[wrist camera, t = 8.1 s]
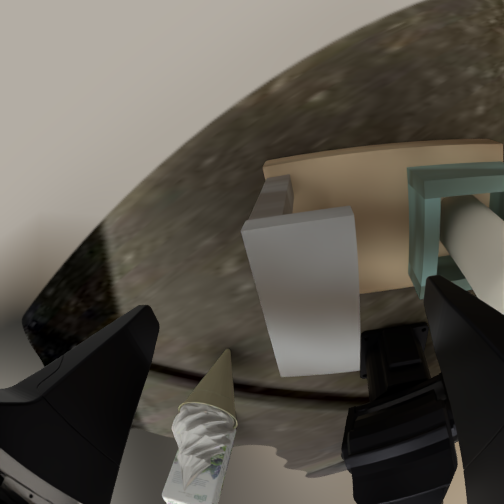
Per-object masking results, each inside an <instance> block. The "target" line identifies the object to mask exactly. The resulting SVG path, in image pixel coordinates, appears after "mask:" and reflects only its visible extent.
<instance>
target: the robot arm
mask: <svg viewBox="0 0 504 504" xmlns="http://www.w3.org/2000/svg"><path fill="white" fill-rule="evenodd" d="M424 307H425V311H426V315H427V319H428V323H429V327H430V332H431V336H432V341H433V345H434V349H435V353H436V356H437V359H438V362H439V365H440V369H441V373H439V375H437V376H435V377H433V378H431V376H430V372H429V369H428V365H427V362H426V359H425V356H424V349H425V345H426V340H427V335H428V330H429V327H428V325H427V323H420V324H414V325H409V326H403V327H396V328H390V329H383V330H376V331H369V332H364V333H362V335H361V354H360V377H361V378H363V379H365V378H367V380H368V389H369V398H370V402H369V403H366V404H363V405H360V406H357V407H356V406H354V407H351V408H349V411H348V416H347V420H346V426H345V432H344V437H343V443H342V453H341V457H342V459H343V460H344V461H345V464H346V467H347V469H348V471H349V472H350V473H351V474H352V479H353V497H354V500H355V501H356V503H357V504H443V499H444V497H445V495H446V493H447V490H448V488H449V486H450V484H451V481H452V479H453V476H454V474H455V471H456V469H457V465H458V464H457V454H456V449H455V444H454V443H456V442H458V441H459V446H460V451H461V457H462V462H463V469H465V470H464V478H465V486H466V496H467V504H504V315H503V314H502V313H500V312H499V311H497V310H496V309H494V308H493V307H491V306H490V305H488V304H487V303H485V302H483V301H482V300H480V299H479V298H477V297H476V296H474V295H472V294H471V293H469V292H468V291H466V290H464V289H463V288H461V287H459V286H458V285H456V284H454V283H453V282H451V281H449V280H448V279H446V278H444V277H443V276H441V275H432V276H428V277H427V279H426V284H425V293H424ZM158 333H159V322H158V320H157V318H156V316H155V314H154V312H153V310H152V308H151V307H150V306H149V305H139V306H137V307H135V308H134V309H132V310H131V311H129V312H127V313H126V314H124V315H123V316H121V317H120V318H118V319H117V320H115V321H114V322H112V323H111V324H109V325H108V326H106V327H105V328H103V329H102V330H100V331H99V332H97V333H96V334H94V335H93V336H91V337H90V338H88V339H87V340H85V341H84V342H82V343H81V344H79V345H78V346H76V347H75V348H73V349H72V350H70V351H69V352H67V353H66V354H65V355H63V356H61V357H60V358H58V359H57V360H55V361H54V362H52V363H50V364H49V365H47V366H46V367H44V368H43V369H41V370H40V371H38V372H36V373H35V374H33V375H31V376H29V377H28V378H26V379H24V380H23V381H21V382H19V383H18V384H16V385H14V386H12V387H9V388H5V389H0V504H79V503H82V504H110V502H111V498H112V494H113V490H114V486H115V482H116V479H117V475H118V471H119V468H120V463H121V460H122V456H123V453H124V449H125V446H126V442H127V439H128V435H129V432H130V429H131V425H132V422H133V419H134V416H135V412H136V409H137V406H138V403H139V400H140V397H141V393H142V390H143V387H144V384H145V381H146V378H147V375H148V372H149V369H150V366H151V362H152V358H153V354H154V350H155V345H156V341H157V337H158ZM365 337H367V338H365Z"/></svg>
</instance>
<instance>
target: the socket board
mask: <svg viewBox="0 0 504 504" xmlns="http://www.w3.org/2000/svg"><path fill="white" fill-rule="evenodd" d="M263 171H264V176H265V180H266V181H265V183H264V185H263V188H262V190H261V192H260V194H259V196H258V199H257V201H256V203H255V206H254V208H253V210H252V212H251V215H250V217H249V219H248V220H247V221H245V223H244V225H243V227H242V230H241V234H242V238H243V241H244V245H245V249H246V252H247V256H248V260H249V263H250V267H251V270H252V274H253V278H254V281H255V285H256V289H257V292H258V296H259V299H260V303H261V307H262V310H263V314H264V317H265V321H266V325H267V328H268V332H269V335H270V339H271V343H272V346H273V350H274V353H275V357H276V361H277V364H278V368H279V371H280V375H281V377H291V376H308V375H321V374H332V373H342V372H351V371H359V370H360V294H363V293H370V292H378V291H385V290H392V289H398V288H405V287H411V286H414V287H415V290H416V292H417V294H418V296H419V299H424V293H425V284H426V279H427V277H428V276H432V275H441V276H443V277H444V278H446V279H448V280H449V281H451V282H453V283H454V284H456V285H458V286H459V287H461V288H463V289H464V290H466V291H468V290H472V287H471V286H470V284H469V283H468V281H467V279H466V278H465V276H464V275H463V273H462V272H461V270H460V269H459V267H458V266H457V264H456V263H455V261H454V260H453V258H452V257H451V255H450V254H449V253H448V251H447V250H446V248H445V247H444V246H443V244H442V243H441V241H440V240H439V238H440V212H441V201H442V200H443V199H444V198H445V197H451V196H461V195H471V194H472V195H473V196H474V197H476V198H477V199H478V200H479V201H481V202H482V203H483V204H484V205H486V206H487V207H488V208H489V209H490V210H492V211H493V212H494V213H495V214H496V215H497V216H499V217H500V218H501V219H502V220H503V221H504V163H503V144H501V143H498V142H496V141H493V140H490V139H448V140H428V141H412V142H400V143H388V144H378V145H368V146H359V147H351V148H343V149H335V150H328V151H321V152H314V153H308V154H301V155H295V156H289V157H283V158H278V159H272V160H267V161H266V162H265V164H264V166H263Z"/></svg>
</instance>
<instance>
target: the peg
mask: <svg viewBox="0 0 504 504" xmlns="http://www.w3.org/2000/svg"><path fill="white" fill-rule="evenodd" d="M439 240H440V241H441V243H442V244H443V246H444V247H445V248H446V250H447V251H448V253H449V254H450V255H451V257H452V258H453V260H454V261H455V263H456V264H457V266H458V267H459V269H460V270H461V272H462V273H463V275H464V276H465V278H466V279H467V281H468V283H469V284H470V286H471V287H472V289H473V291H474V292H475V294H476V296H477V297H478V298H479V299H480V300H482V301H483V302H485V303H487V304H488V305H490V306H491V307H493V308H494V309H496V310H497V311H499V312H500V313H502V314H503V315H504V221H503V220H502V219H501V218H500V217H499V216H497V215H496V214H495V213H494V212H493V211H492V210H490V209H489V208H488V207H487V206H486V205H484V204H483V203H482V202H481V201H479V200H478V199H477V198H476V197H474V196H473V195H472V194H471V195H461V196H451V197H445V198H444V199H443V200H442V201H441V212H440V238H439Z"/></svg>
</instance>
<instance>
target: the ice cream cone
mask: <svg viewBox="0 0 504 504" xmlns="http://www.w3.org/2000/svg"><path fill="white" fill-rule="evenodd" d="M178 411H179V414H178V415H176V418H175V419H174V421H173V425H172V431H173V434H174V436H175V439H176V441H177V443H178V446H179V451H178V454H177V459H178V461H179V463H180V466H181V474H182V481H183V490H184V491H185V490H186V489H187V487H188V486H189V485H190V484H191V483H192V482H193V481H194V480H195V479H196V478H197V477H198V476H199V474H200V473H201V472H202V471H204V470H205V469H206V468H207V467H208V466H210V465H211V457H213V456H215V455H217V454H220V453H224V452H225V451H224V450H223V449H222V448H221V447H222V446H226V445H230V444H231V440H230V439H228V438H226V435H228V434H230V433H233V432H234V431H235V430H234V429H235V428H236V427H237V425H238V423H237V420H236V416H235V404H234V390H233V377H232V364H231V351H230V349H226V350H225V351H224V352H223V354H222V355H221V356H220V358H219V359H218V360H217V361H216V363H215V364H214V365H213V367H212V368H211V369H210V370H209V372H208V373H207V374H206V375H205V377H204V378H203V379H202V380H201V382H200V383H199V384H198V385H197V387H196V388H195V389H194V391H193V392H192V393H191V395H190V396H189V397H188V398H187V399H186V401H185V402H184V403H183V404H181V405H180V406H179V408H178Z"/></svg>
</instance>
